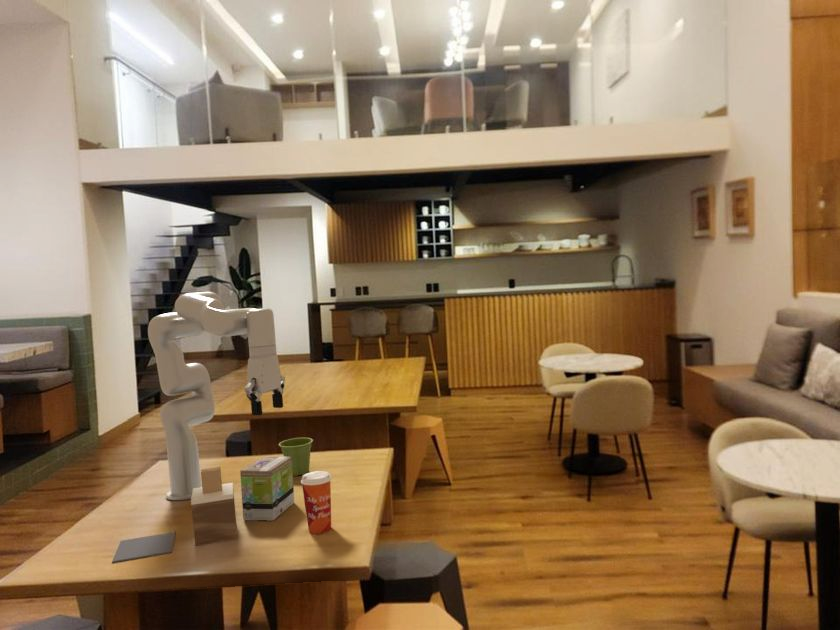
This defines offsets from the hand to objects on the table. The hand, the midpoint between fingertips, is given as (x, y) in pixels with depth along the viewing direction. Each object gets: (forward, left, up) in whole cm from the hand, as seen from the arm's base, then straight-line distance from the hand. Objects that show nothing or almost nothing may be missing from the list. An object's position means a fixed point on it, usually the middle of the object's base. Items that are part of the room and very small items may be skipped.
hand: (267, 411), depth 186 cm
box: (+7, -17, -31) cm, 36 cm away
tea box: (-5, -2, -31) cm, 32 cm away
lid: (+7, -17, -21) cm, 27 cm away
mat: (+7, -35, -31) cm, 47 cm away
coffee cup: (+16, +10, -31) cm, 36 cm away
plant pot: (-40, +10, -31) cm, 52 cm away
